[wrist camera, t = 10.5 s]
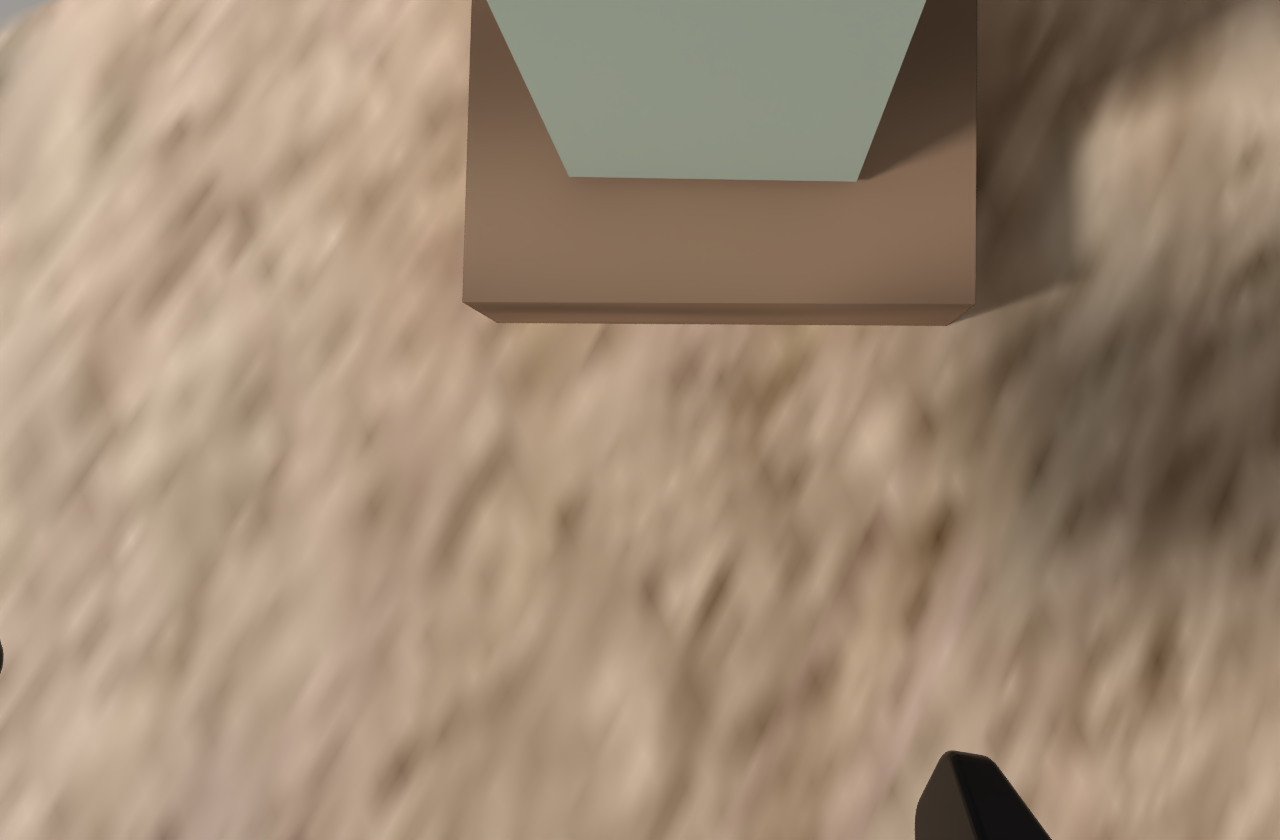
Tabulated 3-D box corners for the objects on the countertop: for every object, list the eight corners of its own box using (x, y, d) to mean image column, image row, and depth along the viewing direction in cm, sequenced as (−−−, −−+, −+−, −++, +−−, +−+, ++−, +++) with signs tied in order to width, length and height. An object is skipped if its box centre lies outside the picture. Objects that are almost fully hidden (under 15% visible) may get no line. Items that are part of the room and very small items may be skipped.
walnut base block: (942, 329, 20) (975, 303, 17) (502, 326, 21) (462, 302, 18) (945, -108, 21) (978, -205, 18) (514, -92, 22) (477, -181, 19)
